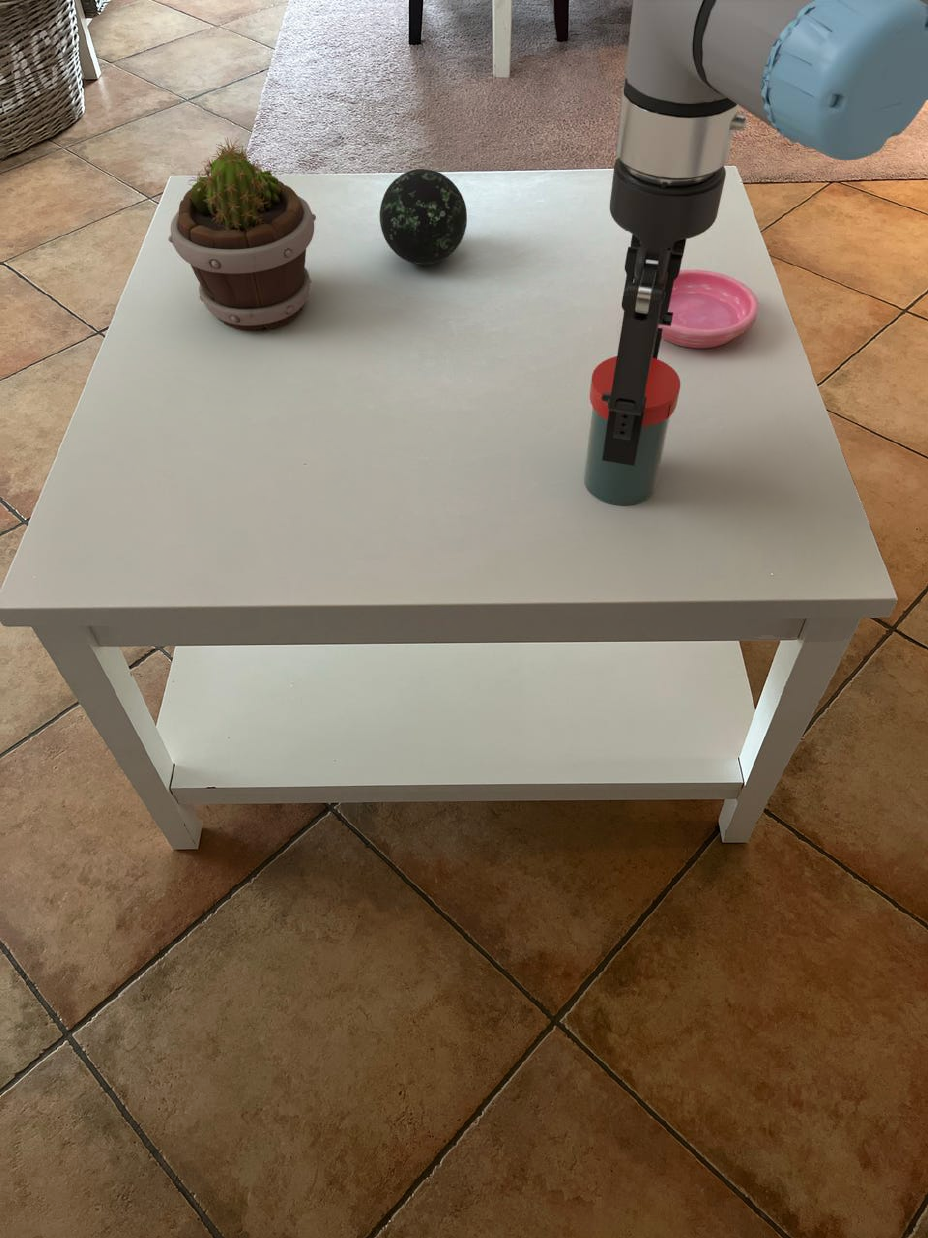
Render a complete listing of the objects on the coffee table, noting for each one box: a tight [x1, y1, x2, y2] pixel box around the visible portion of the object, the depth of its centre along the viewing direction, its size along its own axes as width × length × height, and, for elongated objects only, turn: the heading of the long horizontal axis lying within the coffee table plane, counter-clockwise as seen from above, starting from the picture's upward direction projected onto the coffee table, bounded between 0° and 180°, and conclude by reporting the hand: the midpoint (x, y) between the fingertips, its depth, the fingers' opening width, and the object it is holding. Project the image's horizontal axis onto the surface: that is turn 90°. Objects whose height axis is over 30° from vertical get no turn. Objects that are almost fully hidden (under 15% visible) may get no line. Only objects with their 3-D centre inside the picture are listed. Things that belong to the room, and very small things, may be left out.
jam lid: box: [589, 355, 681, 426], centre depth 76 cm, size 7×7×2 cm
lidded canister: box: [583, 406, 671, 506], centre depth 80 cm, size 7×7×11 cm
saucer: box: [658, 269, 759, 349], centre depth 98 cm, size 12×12×3 cm
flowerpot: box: [168, 137, 317, 331], centre depth 95 cm, size 14×15×20 cm
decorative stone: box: [379, 168, 468, 266], centre depth 105 cm, size 10×10×10 cm
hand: (627, 424), depth 79 cm, fingers open, 9 cm apart
